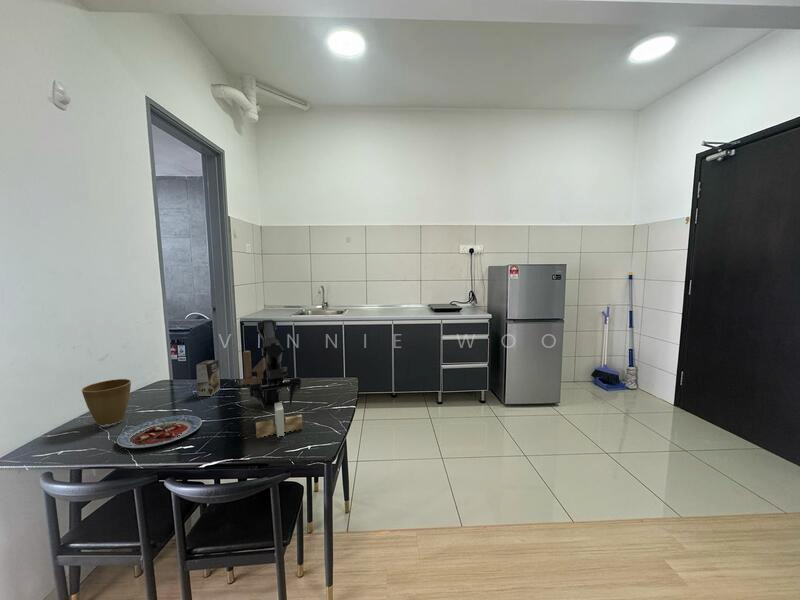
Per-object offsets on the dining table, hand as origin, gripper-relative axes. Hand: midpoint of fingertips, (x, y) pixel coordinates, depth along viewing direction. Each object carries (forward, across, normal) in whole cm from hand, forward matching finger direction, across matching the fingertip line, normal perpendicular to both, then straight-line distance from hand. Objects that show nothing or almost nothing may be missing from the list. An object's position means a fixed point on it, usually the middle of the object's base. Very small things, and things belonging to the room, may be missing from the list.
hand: (278, 407), depth 131 cm
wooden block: (-38, -6, +51) cm, 64 cm away
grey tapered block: (+8, 0, +4) cm, 9 cm away
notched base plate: (+8, 0, +4) cm, 9 cm away
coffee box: (-33, -27, +47) cm, 63 cm away
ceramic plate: (-4, -40, +17) cm, 43 cm away
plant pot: (-18, -60, +32) cm, 71 cm away
